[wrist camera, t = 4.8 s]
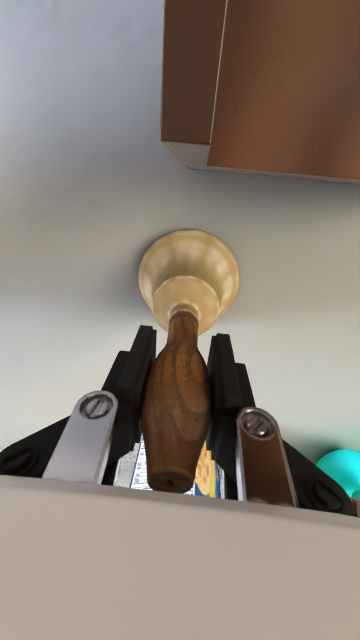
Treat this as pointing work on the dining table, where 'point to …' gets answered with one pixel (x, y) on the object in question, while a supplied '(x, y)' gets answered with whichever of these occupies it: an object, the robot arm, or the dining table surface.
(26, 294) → the dining table surface
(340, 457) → the donuts
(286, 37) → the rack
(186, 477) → the hand bell
